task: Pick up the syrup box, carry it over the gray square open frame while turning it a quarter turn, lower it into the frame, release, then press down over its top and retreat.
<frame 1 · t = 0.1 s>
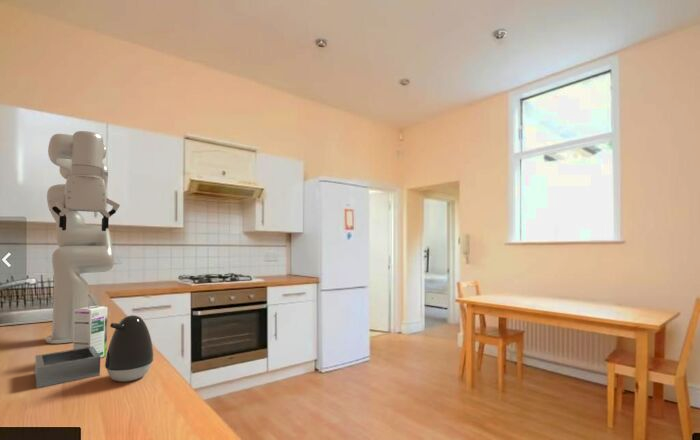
hand: (84, 230, 108), 37 cm above the countertop, tool pointing down, fingers open, 9 cm apart
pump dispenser: (128, 378, 89), on the countertop
syrup box: (89, 359, 103), on the countertop
gray square open frame: (67, 374, 91), on the countertop
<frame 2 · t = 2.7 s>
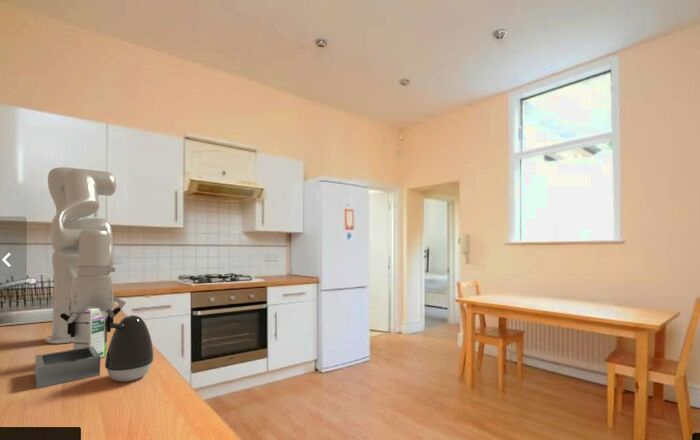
hand: (90, 333, 104), 7 cm above the countertop, tool pointing down, fingers closed on syrup box, 8 cm apart
syrup box: (89, 359, 103), on the countertop, touching gripper
everything else where it was.
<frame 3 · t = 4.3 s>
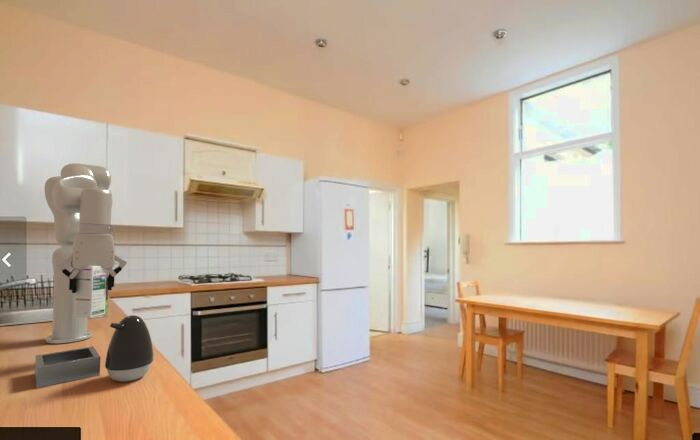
hand: (91, 290, 105), 19 cm above the countertop, tool pointing down, fingers closed on syrup box, 8 cm apart
syrup box: (90, 316, 105), point 12 cm above the countertop, touching gripper
everything else where it was.
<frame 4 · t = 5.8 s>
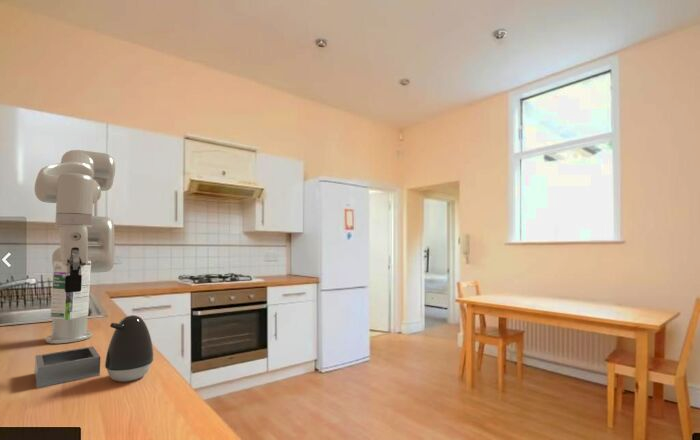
hand: (71, 289, 92), 21 cm above the countertop, tool pointing down, fingers closed on syrup box, 8 cm apart
syrup box: (69, 318, 92), point 14 cm above the countertop, touching gripper
everything else where it was.
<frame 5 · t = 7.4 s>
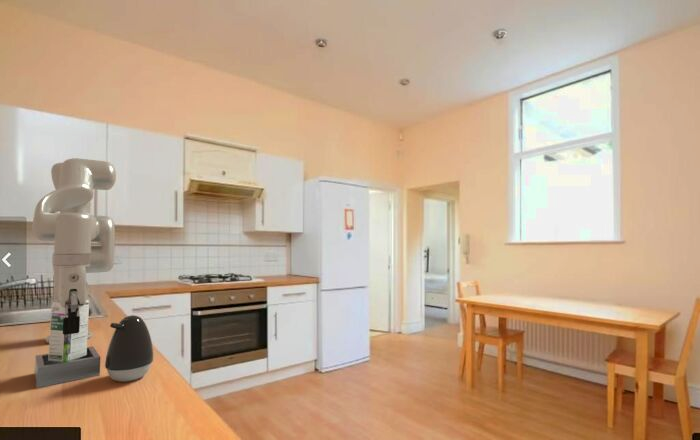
hand: (69, 330, 92), 11 cm above the countertop, tool pointing down, fingers closed on syrup box, 8 cm apart
syrup box: (67, 359, 91), point 4 cm above the countertop, touching gripper
everything else where it was.
when the fingers open (8 cm above the countertop, at t = 9.0 s): syrup box drops 1 cm, resting in gray square open frame.
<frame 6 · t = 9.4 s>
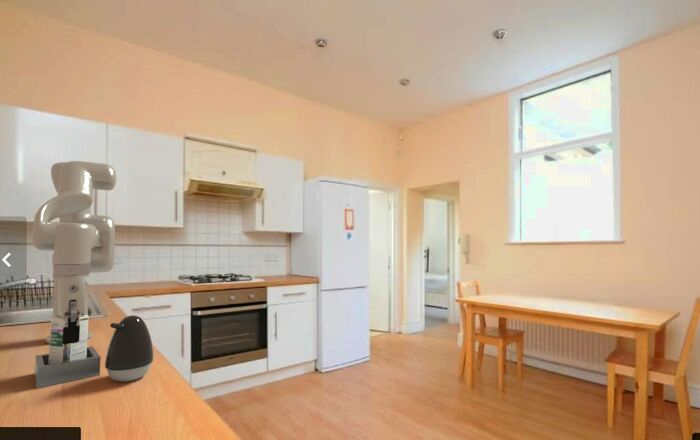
hand: (68, 338, 92), 9 cm above the countertop, tool pointing down, fingers open, 9 cm apart
syrup box: (67, 374, 92), resting in gray square open frame
everything else where it was.
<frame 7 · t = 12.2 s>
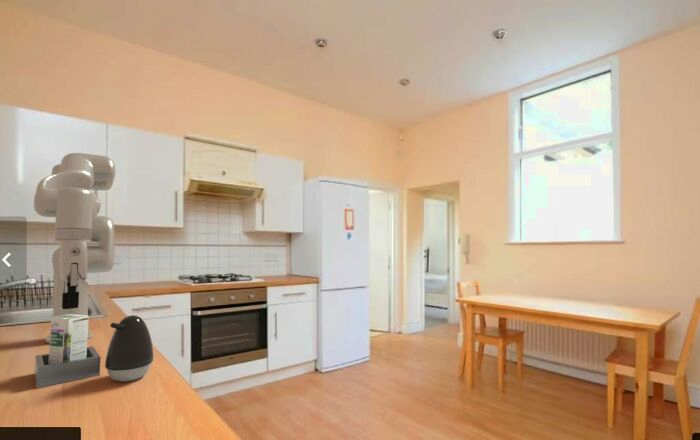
hand: (70, 308, 92), 17 cm above the countertop, tool pointing down, fingers closed
nothing on the countertop moved.
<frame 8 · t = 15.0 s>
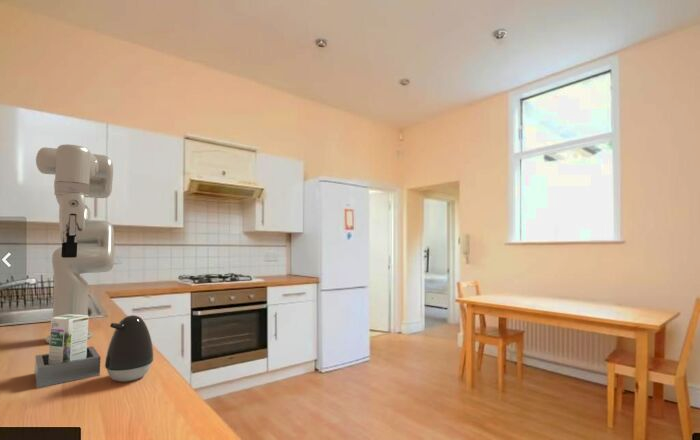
hand: (69, 257, 99), 29 cm above the countertop, tool pointing down, fingers closed
nothing on the countertop moved.
at the end: syrup box 0.5 cm off-centre on the gray square open frame, point 0.0 cm above the gray square open frame's base; syrup box tilted 0°; the gripper is holding nothing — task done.
